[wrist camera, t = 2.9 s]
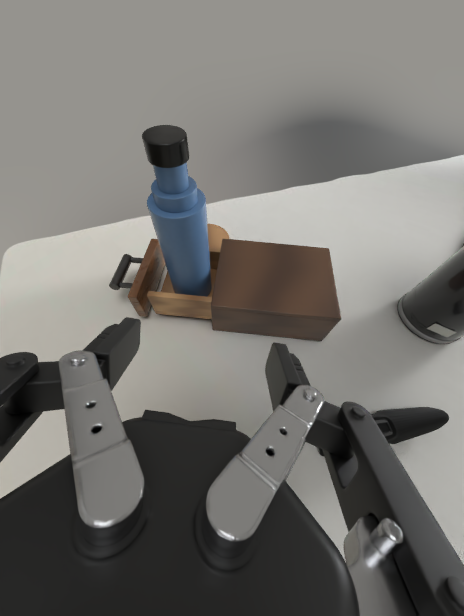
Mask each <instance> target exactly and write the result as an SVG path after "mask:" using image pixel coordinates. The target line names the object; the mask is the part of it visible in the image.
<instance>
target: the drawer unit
mask: <svg viewBox="0 0 464 616" xmlns="http://www.w3.org/2000/svg"><path fill="white" fill-rule="evenodd" d="M211 314H212V326H213V330H219V331H229V332H238V333H248V334H258V335H267V336H277V337H287V338H296V339H306V340H316V341H322V340H323V339H324V338H325V337H326V335H327V334H328V333H329V332H330V331H331V330H332V329H333V328H334V327H335V325H336V324H337V323H338V322H339V321H340V320H341V313H340V308H339V302H338V297H337V291H336V285H335V280H334V274H333V268H332V263H331V257H330V252H329V248H318V247H308V246H297V245H286V244H275V243H265V242H254V241H243V240H233V239H222V244H221V250H220V255H219V261H218V267H217V273H216V278H215V284H214V290H213V295H212V301H211Z"/></svg>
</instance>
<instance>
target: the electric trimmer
mask: <svg viewBox="0 0 464 616" xmlns="http://www.w3.org/2000/svg"><path fill="white" fill-rule="evenodd" d="M371 416H372V417H373V419H374V420H375V422H376V424H377V425H378V427H379V428H380V430H381V432H382V433H383V435H384V437H385V438H386V440H387V441H388V443H390V444H395V443H398V442H401V441H405V440H408V439H411V438H414V437H417V436H420V435H423V434H426V433H429V432H432V431H434V430H436V429H439V428H441V427H442V426H443V425H444V424H446V423H447V422H448V420H449V416H448V414H447V413H445V412H444V411H443V410H439V409H435V408H430V407H418V408H405V409H392V410H382V411H377V412H376V413H375V414H372V415H371ZM318 451H319V452H320V454H321V455H322V456H324V453H323V450H322V449H321V448H319V447H318Z"/></svg>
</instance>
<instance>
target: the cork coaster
mask: <svg viewBox="0 0 464 616" xmlns="http://www.w3.org/2000/svg"><path fill="white" fill-rule="evenodd" d="M207 225H208V239H209V248H218V249H221V244H222V239H229V235H228V233H227V232H226V231H225V230H224V229H223V228H221V227H220V226H217V225H214V224H207Z"/></svg>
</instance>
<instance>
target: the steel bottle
mask: <svg viewBox="0 0 464 616" xmlns="http://www.w3.org/2000/svg"><path fill="white" fill-rule="evenodd" d="M142 139H143V143H144V147H145V150H146V154H147V158H148V161H149V162H150V163H151V164H152V165H153V168H154V172H155V176H156V180H155V181H154V182H153V183H152V185H151V190H152V193H151V194H150V196H149V197H148V200H147V206H148V209H149V213H150V216H151V219H152V222H153V225H154V229H155V232H156V235H157V238H158V242H159V245H160V248H161V251H162V254H163V258H164V261H165V264H166V267H167V270H168V274H169V277H170V280H171V283H172V287H173V290H174V293H175V294H185V295H195V296H205V297H207V296H208V295H209V294H210V292H211V289H212V282H211V268H210V254H209V239H208V225H207V211H206V198H205V195H204V194H203V192H202V191H201V190H199V189H198V188H197V185H196V182H195V181H194V180H193V179H192V178H191V177H189V176H188V170H187V164H186V163H187V161H188V159H189V151H188V143H187V134H186V132H185V131H184V130H183V129H182V128H180V127H177V126H171V125H160V126H154V127H151V128H149V129H147V130H146V131H144V132H143V134H142Z"/></svg>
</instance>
